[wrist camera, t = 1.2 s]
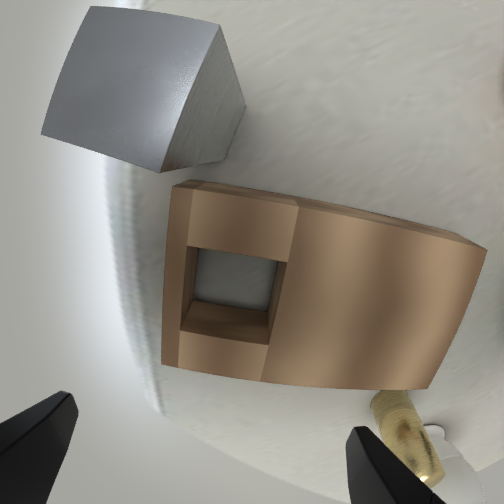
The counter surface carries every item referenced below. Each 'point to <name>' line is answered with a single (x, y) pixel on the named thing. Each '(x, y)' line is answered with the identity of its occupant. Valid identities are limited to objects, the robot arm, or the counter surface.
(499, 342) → the counter surface
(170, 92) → the square bit
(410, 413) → the round bit
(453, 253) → the socket block
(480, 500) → the jar
